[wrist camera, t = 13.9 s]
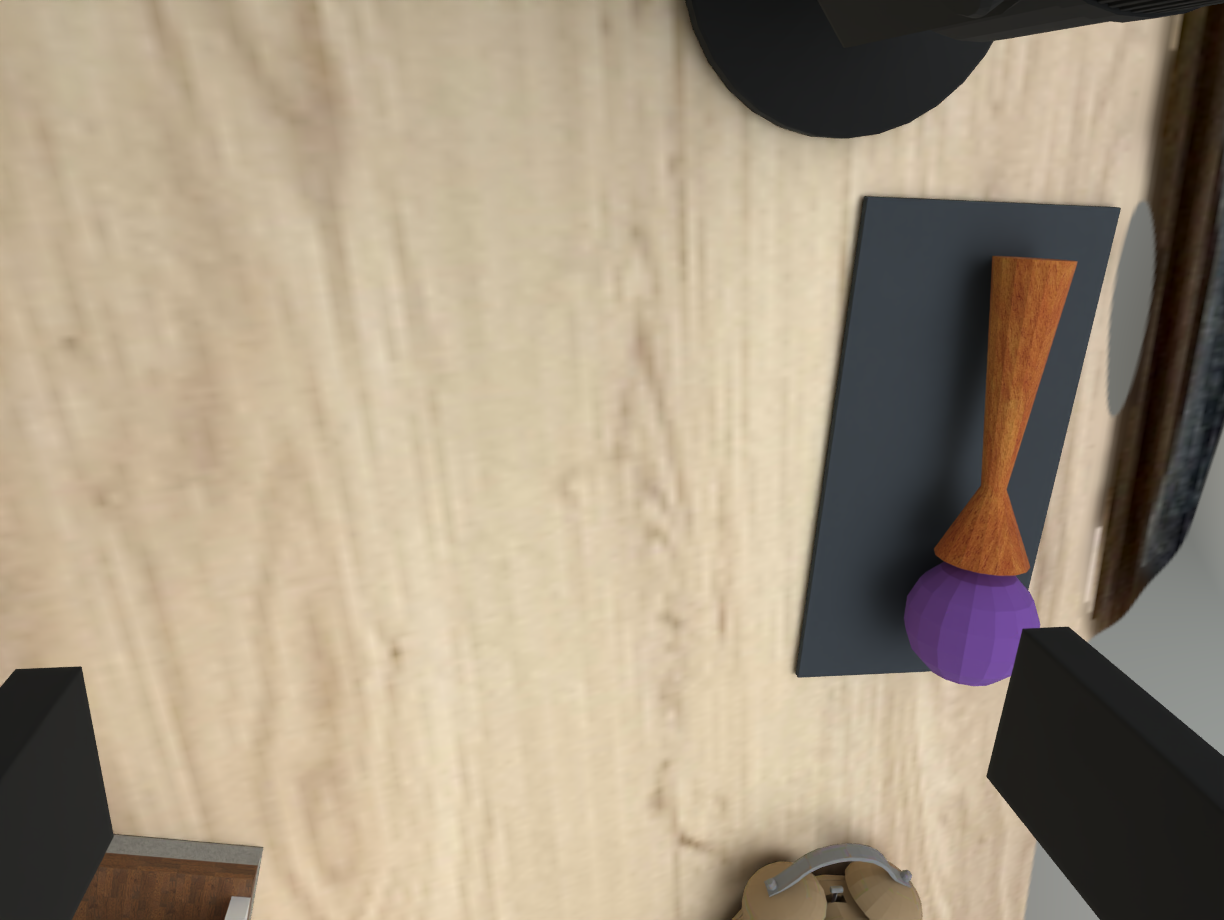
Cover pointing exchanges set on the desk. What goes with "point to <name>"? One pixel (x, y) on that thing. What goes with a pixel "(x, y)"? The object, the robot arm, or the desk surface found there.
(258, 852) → the display case
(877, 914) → the alarm clock
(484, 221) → the desk surface
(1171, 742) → the robot arm
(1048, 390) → the mat
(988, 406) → the kendama
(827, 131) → the microphone
